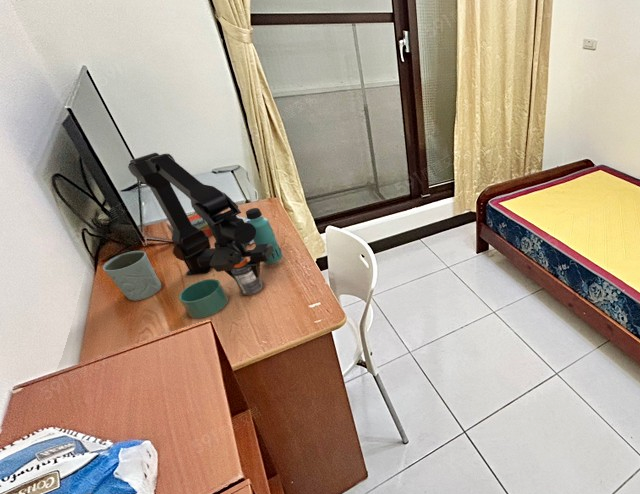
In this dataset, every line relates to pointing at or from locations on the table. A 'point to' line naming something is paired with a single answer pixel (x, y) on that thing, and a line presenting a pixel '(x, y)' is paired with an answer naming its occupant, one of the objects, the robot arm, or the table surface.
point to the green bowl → (203, 298)
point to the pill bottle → (246, 278)
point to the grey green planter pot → (133, 275)
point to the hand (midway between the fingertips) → (247, 277)
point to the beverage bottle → (264, 233)
